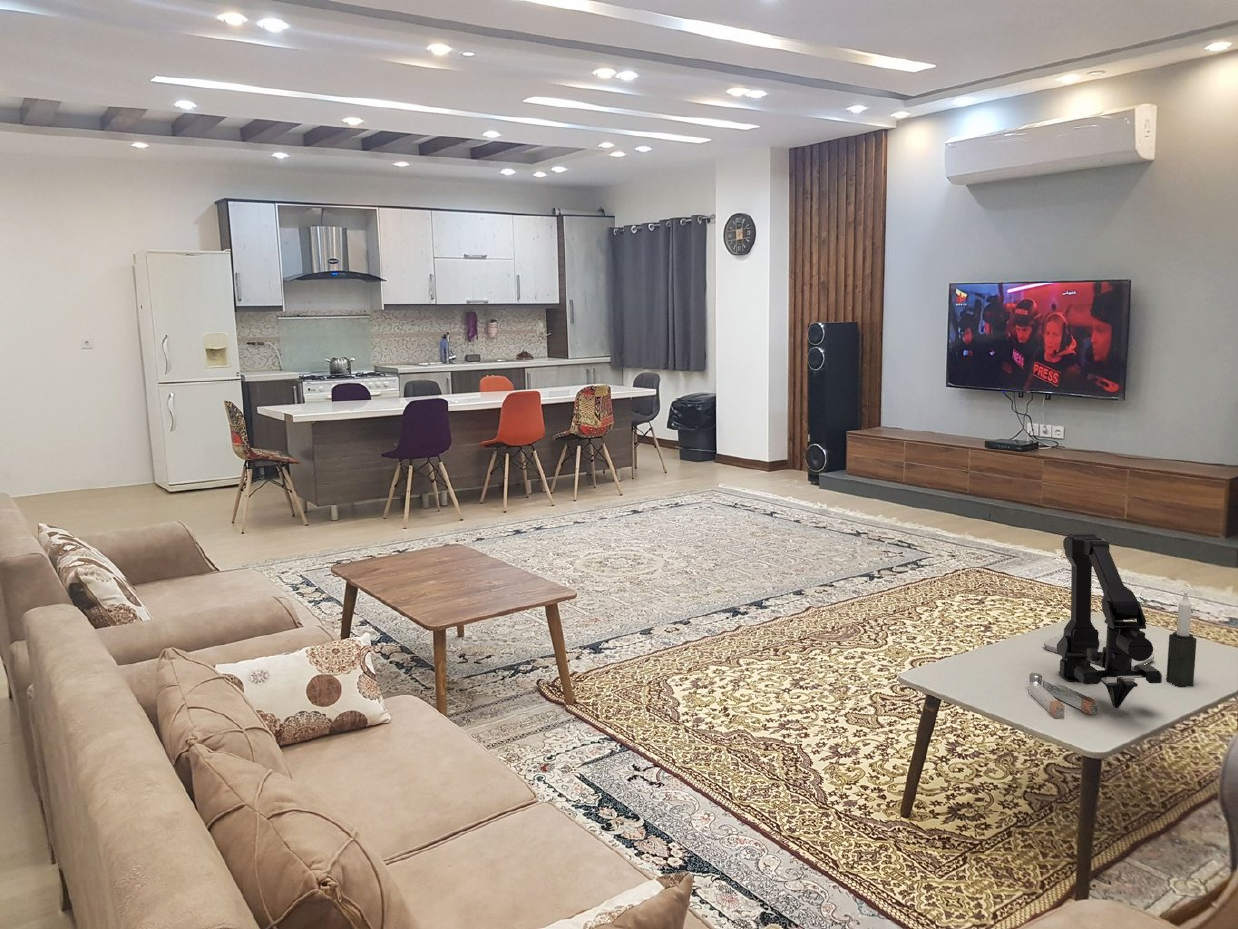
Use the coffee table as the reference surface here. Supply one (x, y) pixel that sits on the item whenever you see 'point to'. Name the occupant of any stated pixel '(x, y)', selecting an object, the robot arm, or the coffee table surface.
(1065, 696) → the tongs arm
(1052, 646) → the tablet
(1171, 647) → the candle
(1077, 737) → the coffee table surface
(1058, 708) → the base
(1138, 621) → the robot arm
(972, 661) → the coffee table surface
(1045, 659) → the coffee table surface
